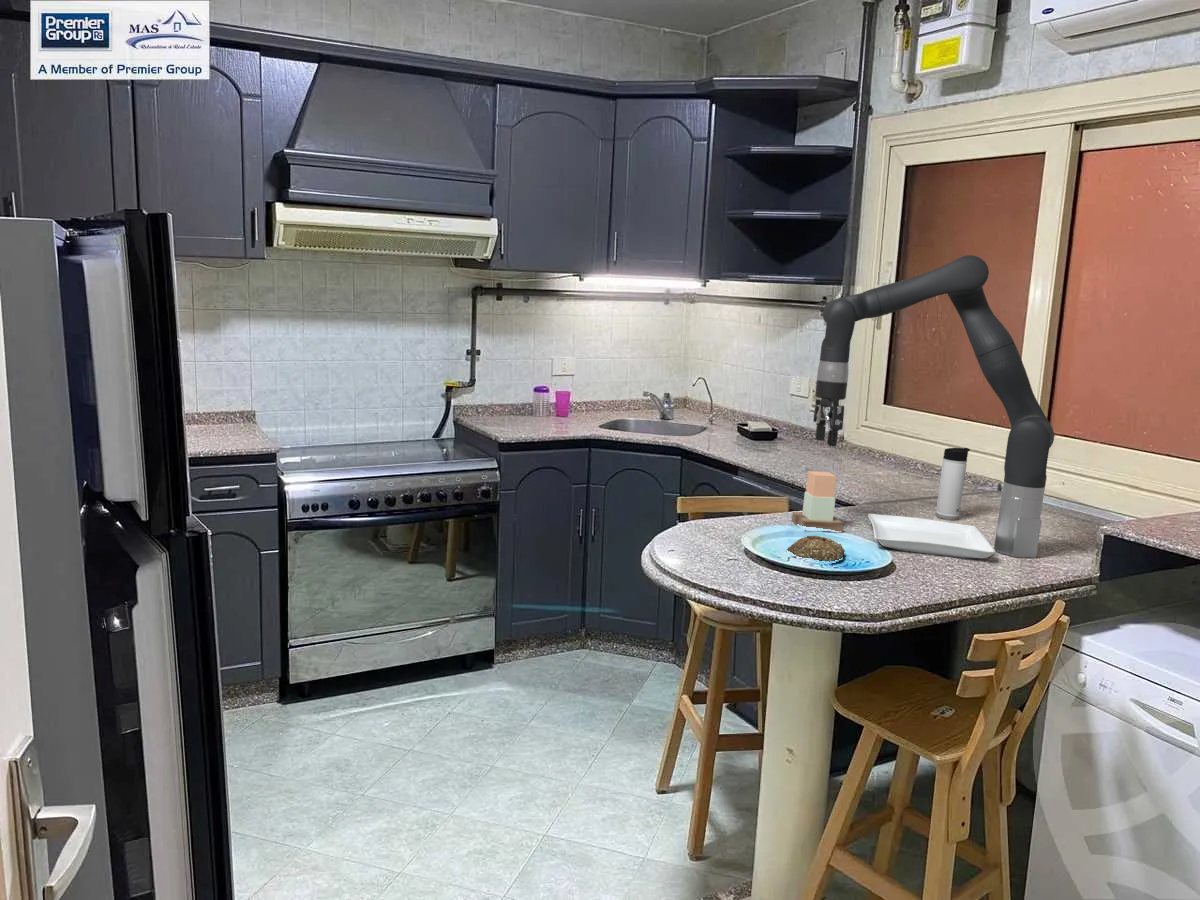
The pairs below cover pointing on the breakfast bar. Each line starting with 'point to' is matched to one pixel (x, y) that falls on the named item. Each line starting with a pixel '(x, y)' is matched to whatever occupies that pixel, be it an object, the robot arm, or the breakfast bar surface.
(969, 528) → the square plate
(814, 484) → the terracotta block
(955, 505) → the travel mug
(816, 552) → the bread roll
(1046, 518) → the breakfast bar surface
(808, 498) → the sage block
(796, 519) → the walnut slab
